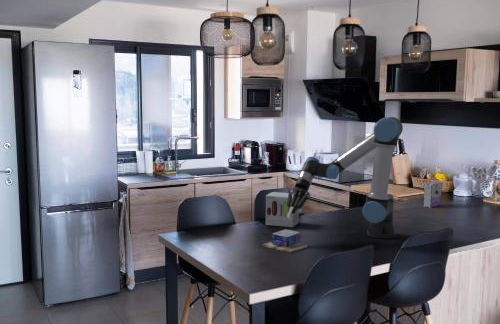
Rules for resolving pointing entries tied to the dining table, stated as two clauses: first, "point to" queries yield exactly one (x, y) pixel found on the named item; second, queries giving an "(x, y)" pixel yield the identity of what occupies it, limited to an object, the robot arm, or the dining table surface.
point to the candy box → (432, 194)
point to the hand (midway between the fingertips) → (288, 218)
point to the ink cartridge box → (286, 237)
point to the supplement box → (279, 210)
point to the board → (286, 249)
